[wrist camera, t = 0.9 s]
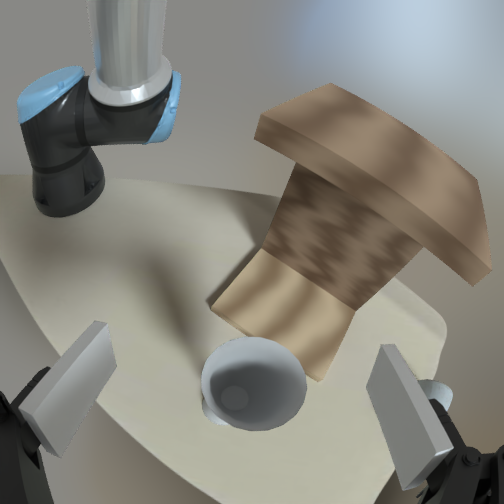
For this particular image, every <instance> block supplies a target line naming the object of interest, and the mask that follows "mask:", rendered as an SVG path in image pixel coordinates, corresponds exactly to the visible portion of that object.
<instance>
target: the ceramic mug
mask: <svg viewBox="0 0 504 504" xmlns="http://www.w3.org/2000/svg"><path fill="white" fill-rule="evenodd" d="M418 383H419V385H420V387H421V388H422V390H423V392H424V393H425V395H426V397H427V399H433V398H435V399H436V400H437V401H439V402H440V403H441V404H442V405H443V406H444V408H445V410H446V411H447V410H448V408H449V405H450V403H451V400H452V397H453V394H452V391H451V389H450V388H449V387H448V386H446V385H445V384H443V383H441V382H439V381H435V380H428V379H426V380H419V381H418Z"/></svg>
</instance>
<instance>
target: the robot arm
mask: <svg viewBox="0 0 504 504" xmlns="http://www.w3.org/2000/svg"><path fill="white" fill-rule="evenodd" d="M166 5H167V0H87V8H88V17H89V26H90V33H91V40H92V47H93V53H94V59H95V65H96V67H95V68H94V69H93V71H92V73H91V74H90V76H84V74H85V71H84V70H83V68H82V67H81V66H71V67H66V68H62V69H59V70H56V71H54V72H51V73H49V74H47V75H45V76H43V77H41V78H39V79H38V80H36V81H35V82H33V83H32V84H30V85H29V86H28V87H27V88H26V89H24V90H23V92H22V93H21V94H20V96H19V98H18V101H17V110H18V118H19V120H18V122H19V123H20V126H21V130H22V134H23V138H24V141H25V145H26V148H27V152H28V155H29V158H30V161H31V165H32V168H33V198H34V201H35V203H36V206H37V208H38V209H39V211H40V212H42V213H43V214H45V215H47V216H51V217H65V216H69V215H73V214H75V213H78V212H80V211H82V210H84V209H85V208H87V207H88V206H90V205H91V204H92V203H93V202H94V201H95V200H96V199H97V198H98V197H99V196H100V194H101V193H102V191H103V188H104V185H105V177H104V171H103V167H102V165H101V163H100V162H99V160H98V158H97V157H96V155H95V153H94V151H93V150H92V148H91V146H97V145H114V144H148V143H157V142H163V141H165V140H166V139H168V137H169V136H170V134H171V131H172V129H173V125H174V120H175V117H176V109H177V105H178V101H179V95H180V87H181V75H180V73H179V72H176V71H173V70H172V68H171V64H170V62H169V61H168V59H167V58H166V57H165V56H163V55H162V45H163V33H164V23H165V13H166ZM116 367H117V365H116V360H115V356H114V352H113V348H112V343H111V339H110V334H109V329H108V324H107V323H104V322H99V321H94V322H93V323H92V324H91V325H90V326H89V327H88V328H87V329H86V331H85V332H84V333H83V334H82V335H81V336H80V337H79V338H78V339H77V340H76V341H75V342H74V343H73V345H72V346H71V347H70V348H69V349H68V350H67V351H66V352H65V353H64V354H63V355H62V357H61V358H60V359H59V360H58V361H57V362H56V363H55V365H54V366H53V367H52V368H50V367H46V368H44V369H42V370H40V371H39V372H38V373H37V374H36V375H35V376H34V377H33V378H32V380H31V381H30V382H29V383H28V384H27V386H25V388H24V389H23V390H22V391H21V392H20V393H19V394H18V396H17V397H16V398H15V399H14V400H13V401H12V403H11V404H9V402H8V401H7V399H6V397H5V395H4V394H3V393H2V392H1V391H0V504H54V502H53V499H52V496H51V492H50V489H49V486H48V482H47V478H46V474H45V471H44V466H43V462H42V457H41V453H40V451H39V449H38V447H39V446H40V444H42V446H43V447H44V448H45V449H46V451H47V452H49V453H51V454H53V455H55V456H57V457H59V458H61V457H62V455H63V453H64V451H65V450H66V448H67V446H68V445H69V443H70V441H71V439H72V438H73V436H74V434H75V433H76V431H77V429H78V428H79V426H80V424H81V423H82V421H83V420H84V418H85V416H86V415H87V413H88V411H89V410H90V408H91V406H92V405H93V403H94V402H95V400H96V398H97V397H98V395H99V394H100V392H101V391H102V389H103V387H104V386H105V384H106V383H107V381H108V380H109V378H110V376H111V375H112V373H113V372H114V370H115V369H116ZM366 388H367V391H368V393H369V396H370V398H371V401H372V404H373V406H374V409H375V412H376V414H377V417H378V420H379V422H380V425H381V428H382V431H383V434H384V436H385V439H386V442H387V445H388V448H389V451H390V454H391V456H392V459H393V462H394V465H395V468H396V472H397V474H398V478H399V480H400V484H401V487H402V490H407V489H411V488H414V487H418V486H419V485H420V484H421V483H422V482H423V481H424V480H425V479H426V480H427V483H428V485H427V486H426V487H425V488H424V489H423V490H422V491H421V492H420V493H419V494H418V495H417V496H416V497H417V498H418V497H420V496H421V495H422V496H421V498H420V500H419V502H418V504H504V445H503V446H501V447H500V448H499V449H498V450H497V451H496V453H489V454H481V453H480V452H479V451H478V450H477V449H475V448H473V447H467V446H466V445H465V443H464V442H463V440H462V438H461V436H460V434H459V432H458V431H457V429H456V427H455V425H454V424H453V422H451V419H450V417H449V416H448V413H447V411H446V410H445V408H444V406H443V405H442V404H441V403H440V402H439V401H437V400H436V399H435V398H433V399H427V397H426V395H425V393H424V392H423V390H422V388H421V387H420V385H419V383H418V381H417V380H416V378H415V376H414V375H413V373H412V371H411V370H410V368H409V366H408V365H407V363H406V361H405V360H404V358H403V357H402V355H401V353H400V352H399V350H398V349H397V347H396V345H395V344H387V345H381V347H380V350H379V353H378V355H377V358H376V361H375V364H374V367H373V370H372V372H371V375H370V378H369V380H368V383H367V386H366Z"/></svg>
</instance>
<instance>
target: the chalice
mask: <svg viewBox="0 0 504 504" xmlns="http://www.w3.org/2000/svg"><path fill="white" fill-rule="evenodd" d="M201 382H202V392H203V395H204V400H203V403H202V405H203V411H204V414H205V416H206V417H207V418H208V419H209V420H210V421H211V422H213V423H215V424H218V425H229V424H230V425H232V426H233V427H236V428H240V429H244V430H248V431H265V430H270V429H273V428H276V427H279V426H281V425H284V424H285V423H286V422H288V421H289V420H290V419H291V418H293V417H294V416H295V415H296V414H297V412H298V411H299V409H300V408H301V406H302V405H303V403H304V400H305V395H306V391H307V384H306V376H305V372H304V370H303V368H302V366H301V364H300V362H299V360H298V359H297V358H296V357H295V356H294V355H293V354H292V353H291V352H290V351H289V350H288V349H287V348H285V347H284V346H282V345H280V344H279V343H277V342H275V341H272V340H268V339H265V338H262V337H242V338H237V339H233V340H230V341H228V342H226V343H224V344H223V345H221V346H219V347H218V348H216V349H215V351H214V352H213V353H212V354H211V355H210V356H209V358H208V359H207V360H206V363H205V366H204V368H203V371H202V374H201Z"/></svg>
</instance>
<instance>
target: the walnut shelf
mask: <svg viewBox="0 0 504 504" xmlns="http://www.w3.org/2000/svg"><path fill="white" fill-rule="evenodd" d="M254 139H255V140H257V141H259V142H260V143H262V144H264V145H266V146H268V147H270V148H272V149H274V150H275V151H277V152H279V153H281V154H283V155H285V156H286V157H288V158H290V159H292V160H294V161H295V162H296V164H295V166H294V169H293V171H292V174H291V176H290V179H289V181H288V184H287V186H286V189H285V191H284V193H283V196H282V198H281V201H280V203H279V206H278V208H277V211H276V213H275V216H274V218H273V221H272V223H271V225H270V228H269V230H268V233H267V235H266V238H265V240H264V243H263V245H262V248H261V249H260V250H259V251H258V253H257V254H256V255H255V256H254V257H253V258H252V260H251V261H250V262H249V263H248V264H247V265H246V267H245V268H244V269H243V270H242V271H241V273H240V274H239V275H238V276H237V277H236V278H235V280H234V281H233V282H232V283H231V284H230V285H229V287H228V288H227V289H226V290H225V291H224V292H223V294H222V295H221V296H220V297H219V298H218V299H217V301H216V302H215V303H214V304H213V305H212V308H211V311H213V312H214V313H215V314H217V315H218V316H219V317H221V318H222V319H224V320H225V321H226V322H228V323H229V324H231V325H232V326H233V327H235V328H236V329H238V330H239V331H241V332H242V333H243V334H245V335H246V336H248V337H262V338H265V339H268V340H272V341H275V342H277V343H279V344H280V345H282V346H284V347H285V348H287V349H288V350H289V351H290V352H291V353H292V354H293V355H294V356H295V357H296V358H297V359H298V360H299V362H300V364H301V366H302V368H303V370H304V372H305V374H306V375H307V376H309V377H311V378H312V379H314V380H315V381H317V382H319V381H321V380H323V378H324V376H325V374H326V372H327V370H328V368H329V367H330V365H331V363H332V361H333V359H334V357H335V355H336V353H337V351H338V349H339V346H340V344H341V342H342V340H343V338H344V336H345V334H346V332H347V330H348V327H349V325H350V323H351V321H352V319H353V316H354V314H355V312H356V311H357V310H358V309H359V308H360V307H361V306H362V305H363V304H365V303H366V302H367V301H368V300H369V299H370V298H371V297H372V296H374V295H375V294H376V293H377V292H378V291H379V290H380V289H381V288H382V287H383V286H384V285H386V284H387V283H388V282H389V281H390V280H391V279H392V278H393V277H394V276H395V275H396V274H397V273H398V272H399V271H400V270H401V269H402V268H403V267H404V266H405V265H406V264H407V263H408V262H409V261H410V260H411V259H412V258H413V257H414V256H415V255H416V254H417V253H418V252H419V251H420V250H421V249H422V248H423V247H425V248H427V249H428V250H429V251H430V252H431V253H433V254H434V255H435V256H436V257H438V258H439V259H440V260H441V261H443V262H444V263H445V264H446V265H448V266H449V267H450V268H451V269H452V270H454V271H455V272H456V273H457V274H458V275H460V276H461V277H462V278H463V279H464V280H465V281H467V282H468V283H469V284H470V285H471V286H474V285H475V284H476V283H478V282H479V281H480V280H482V279H483V278H484V277H485V276H486V275H487V274H489V273H490V272H491V271H492V266H491V255H490V247H489V239H488V232H487V225H486V220H485V214H484V209H483V204H482V199H481V194H480V190H479V186H478V182H477V179H476V178H475V177H473V176H472V175H471V174H470V173H469V172H468V171H467V170H465V169H464V168H463V167H462V166H461V165H459V164H458V163H457V162H456V161H454V160H453V159H452V158H451V157H449V156H448V155H447V154H446V153H444V152H443V151H442V150H440V149H439V148H438V147H436V146H435V145H434V144H432V143H431V142H429V141H428V140H427V139H425V138H424V137H422V136H421V135H420V134H418V133H417V132H415V131H414V130H412V129H411V128H409V127H408V126H406V125H405V124H403V123H402V122H400V121H399V120H397V119H395V118H394V117H392V116H391V115H389V114H387V113H386V112H384V111H382V110H380V109H379V108H377V107H376V106H374V105H372V104H370V103H368V102H366V101H365V100H363V99H361V98H359V97H358V96H356V95H354V94H352V93H350V92H348V91H346V90H344V89H342V88H340V87H338V86H336V85H334V84H332V83H329V84H327V85H324V86H322V87H319V88H317V89H315V90H312V91H310V92H307V93H305V94H303V95H300V96H298V97H296V98H294V99H291V100H289V101H287V102H285V103H283V104H281V105H278V106H276V107H274V108H272V109H270V110H268V111H266V112H264V113H262V114H261V115H260V119H259V122H258V126H257V129H256V133H255V137H254Z"/></svg>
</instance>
